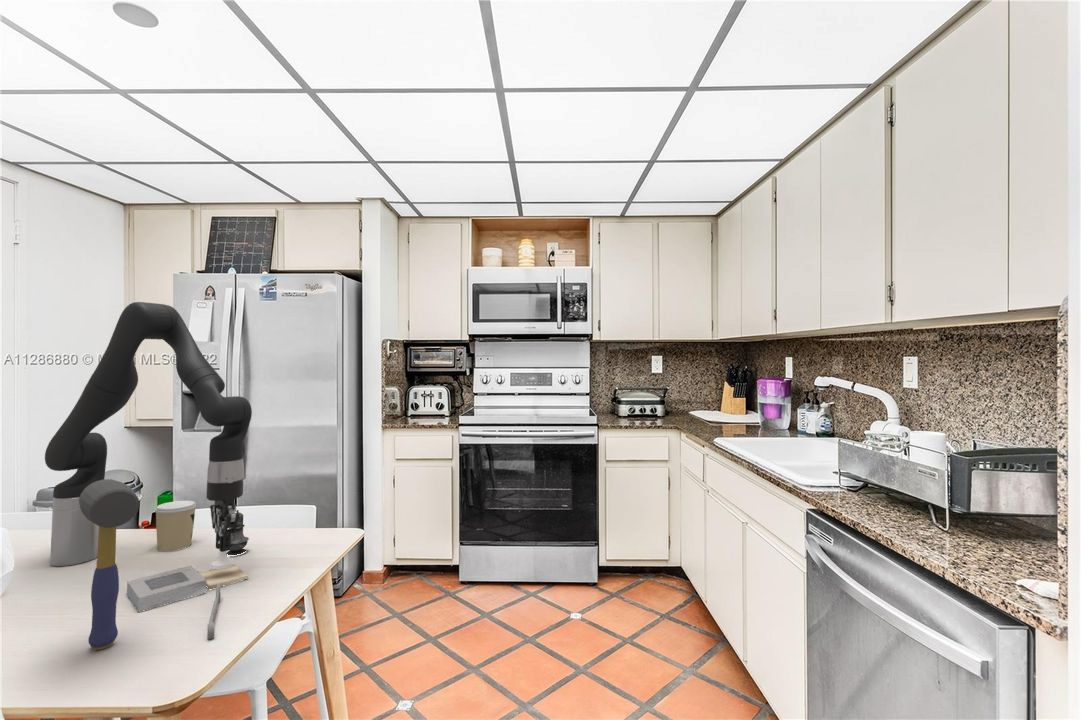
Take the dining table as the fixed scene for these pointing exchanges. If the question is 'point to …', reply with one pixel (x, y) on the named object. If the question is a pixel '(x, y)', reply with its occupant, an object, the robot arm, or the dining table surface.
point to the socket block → (165, 587)
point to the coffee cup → (174, 525)
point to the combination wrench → (213, 613)
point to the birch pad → (223, 576)
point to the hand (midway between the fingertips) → (223, 548)
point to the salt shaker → (238, 538)
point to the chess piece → (222, 561)
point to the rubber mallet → (106, 552)
